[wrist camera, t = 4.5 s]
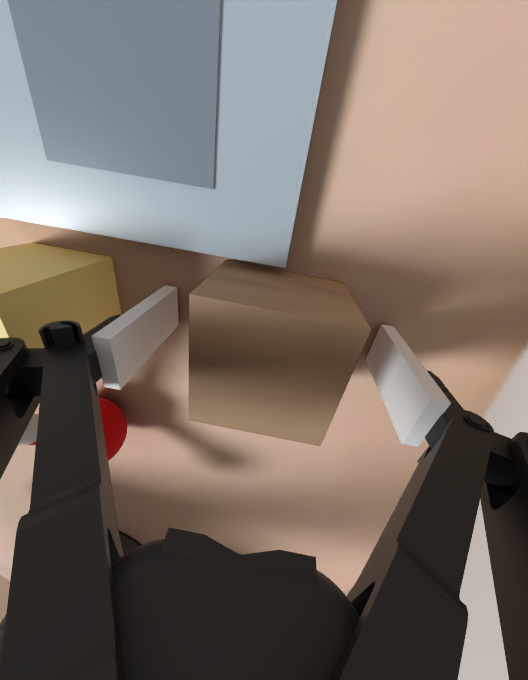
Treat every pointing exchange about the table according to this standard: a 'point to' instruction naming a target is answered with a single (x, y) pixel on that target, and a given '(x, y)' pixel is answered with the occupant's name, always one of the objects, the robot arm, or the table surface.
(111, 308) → the mustard block
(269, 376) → the walnut block
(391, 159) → the table surface
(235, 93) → the plate
